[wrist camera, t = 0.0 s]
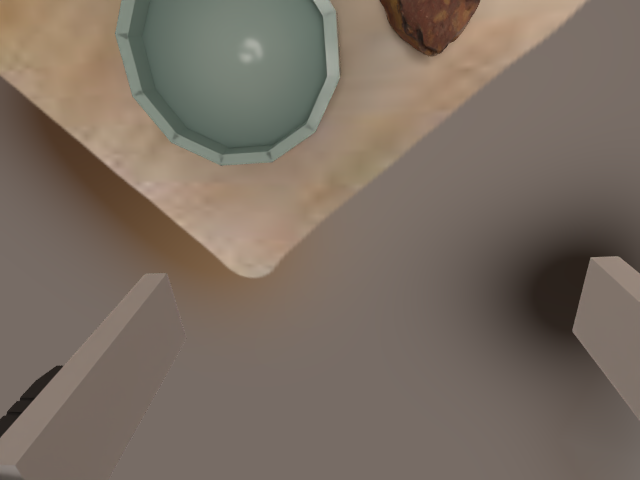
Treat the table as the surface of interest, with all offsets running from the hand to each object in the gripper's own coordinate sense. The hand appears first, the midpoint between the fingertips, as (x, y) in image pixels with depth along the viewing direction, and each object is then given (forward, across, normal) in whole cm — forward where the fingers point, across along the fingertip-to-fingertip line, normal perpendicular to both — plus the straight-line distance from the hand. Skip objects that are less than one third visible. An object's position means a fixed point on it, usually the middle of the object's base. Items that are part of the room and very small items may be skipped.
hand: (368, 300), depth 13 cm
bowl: (+28, -10, +7) cm, 31 cm away
